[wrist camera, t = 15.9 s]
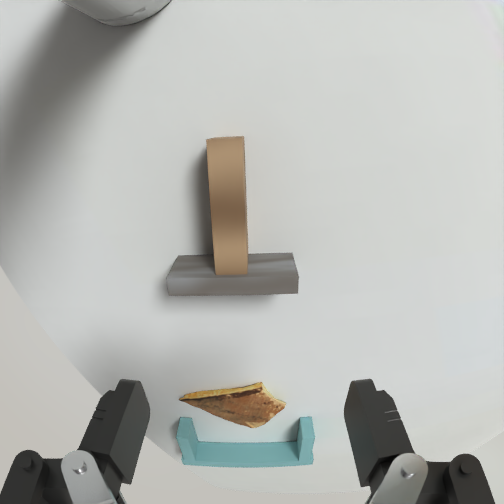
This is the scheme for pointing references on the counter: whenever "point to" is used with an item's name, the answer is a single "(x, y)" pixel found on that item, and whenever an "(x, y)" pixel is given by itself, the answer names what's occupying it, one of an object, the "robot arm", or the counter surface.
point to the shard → (238, 404)
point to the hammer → (231, 238)
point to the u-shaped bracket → (246, 449)
